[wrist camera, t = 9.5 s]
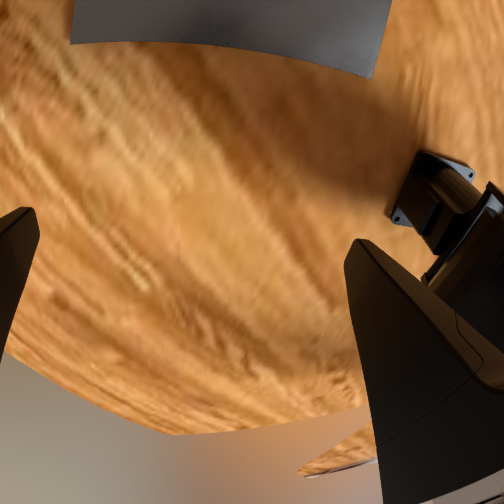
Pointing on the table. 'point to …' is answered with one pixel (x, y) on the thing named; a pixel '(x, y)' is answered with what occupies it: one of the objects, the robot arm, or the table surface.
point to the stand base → (246, 26)
